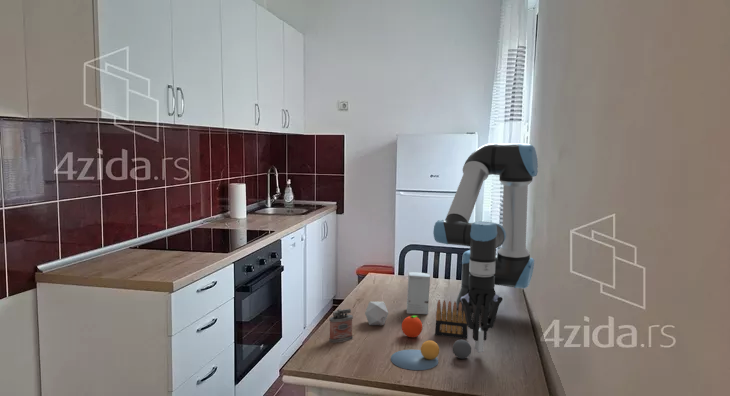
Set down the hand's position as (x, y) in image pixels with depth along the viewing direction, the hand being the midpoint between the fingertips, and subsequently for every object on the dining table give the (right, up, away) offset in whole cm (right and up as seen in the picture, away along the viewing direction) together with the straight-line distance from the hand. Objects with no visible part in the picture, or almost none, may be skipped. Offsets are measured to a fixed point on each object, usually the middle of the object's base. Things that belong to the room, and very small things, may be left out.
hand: (478, 350), depth 150 cm
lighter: (-42, 0, +12) cm, 44 cm away
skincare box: (-14, +2, +40) cm, 43 cm away
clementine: (-19, 0, +16) cm, 24 cm away
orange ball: (-15, +1, -2) cm, 15 cm away
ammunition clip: (-6, 0, +17) cm, 17 cm away
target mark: (-20, -2, -3) cm, 20 cm away
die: (-30, +1, +27) cm, 41 cm away
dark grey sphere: (-5, +1, -1) cm, 6 cm away
